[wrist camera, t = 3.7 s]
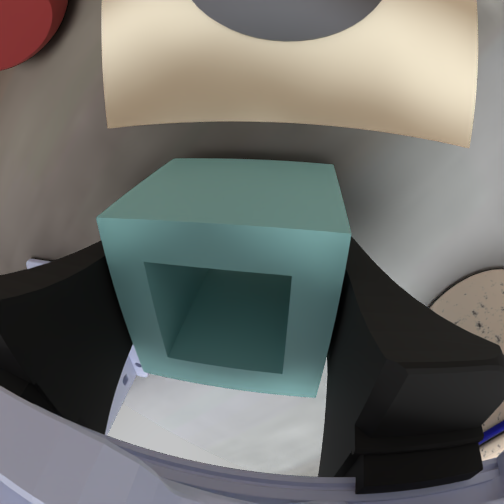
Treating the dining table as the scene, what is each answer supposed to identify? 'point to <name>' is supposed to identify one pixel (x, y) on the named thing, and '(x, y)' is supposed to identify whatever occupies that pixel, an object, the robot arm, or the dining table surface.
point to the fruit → (27, 28)
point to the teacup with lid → (480, 333)
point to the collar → (231, 271)
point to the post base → (294, 63)
